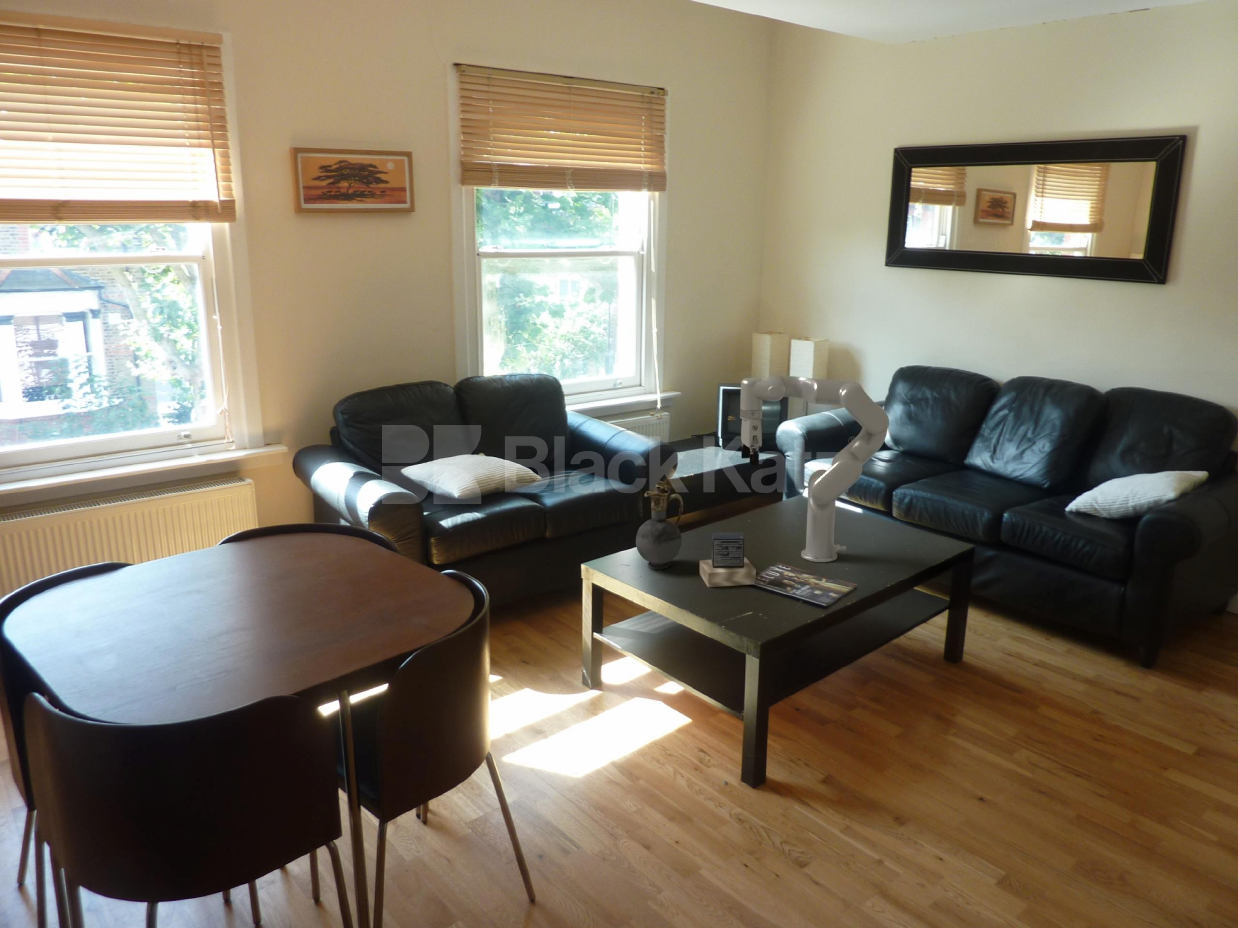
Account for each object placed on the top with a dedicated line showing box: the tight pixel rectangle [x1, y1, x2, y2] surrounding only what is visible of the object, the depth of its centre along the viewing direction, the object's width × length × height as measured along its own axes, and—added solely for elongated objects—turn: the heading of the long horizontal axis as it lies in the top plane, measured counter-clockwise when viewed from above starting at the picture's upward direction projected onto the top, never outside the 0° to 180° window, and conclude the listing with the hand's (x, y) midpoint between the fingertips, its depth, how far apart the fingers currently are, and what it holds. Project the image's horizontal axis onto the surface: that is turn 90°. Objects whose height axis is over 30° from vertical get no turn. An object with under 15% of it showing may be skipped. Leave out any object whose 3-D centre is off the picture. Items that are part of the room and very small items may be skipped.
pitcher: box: [635, 481, 684, 570], centre depth 326 cm, size 11×19×30 cm, turn 130°
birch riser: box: [699, 556, 757, 588], centre depth 315 cm, size 16×12×5 cm
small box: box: [711, 532, 745, 568], centre depth 314 cm, size 11×6×10 cm, turn 88°
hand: (749, 461), depth 331 cm, fingers open, 9 cm apart
